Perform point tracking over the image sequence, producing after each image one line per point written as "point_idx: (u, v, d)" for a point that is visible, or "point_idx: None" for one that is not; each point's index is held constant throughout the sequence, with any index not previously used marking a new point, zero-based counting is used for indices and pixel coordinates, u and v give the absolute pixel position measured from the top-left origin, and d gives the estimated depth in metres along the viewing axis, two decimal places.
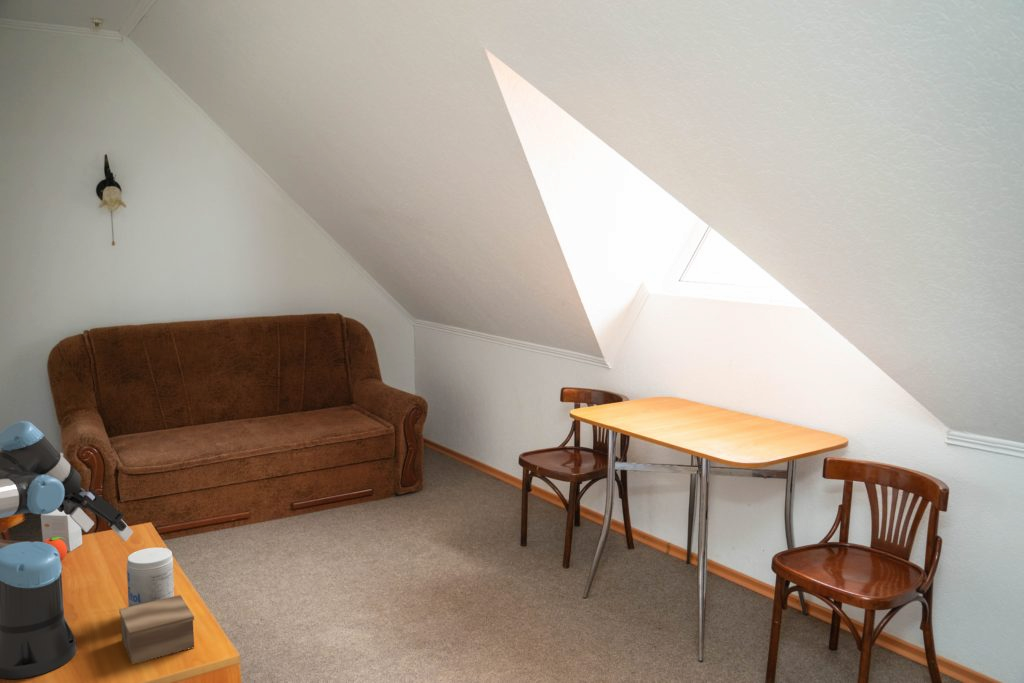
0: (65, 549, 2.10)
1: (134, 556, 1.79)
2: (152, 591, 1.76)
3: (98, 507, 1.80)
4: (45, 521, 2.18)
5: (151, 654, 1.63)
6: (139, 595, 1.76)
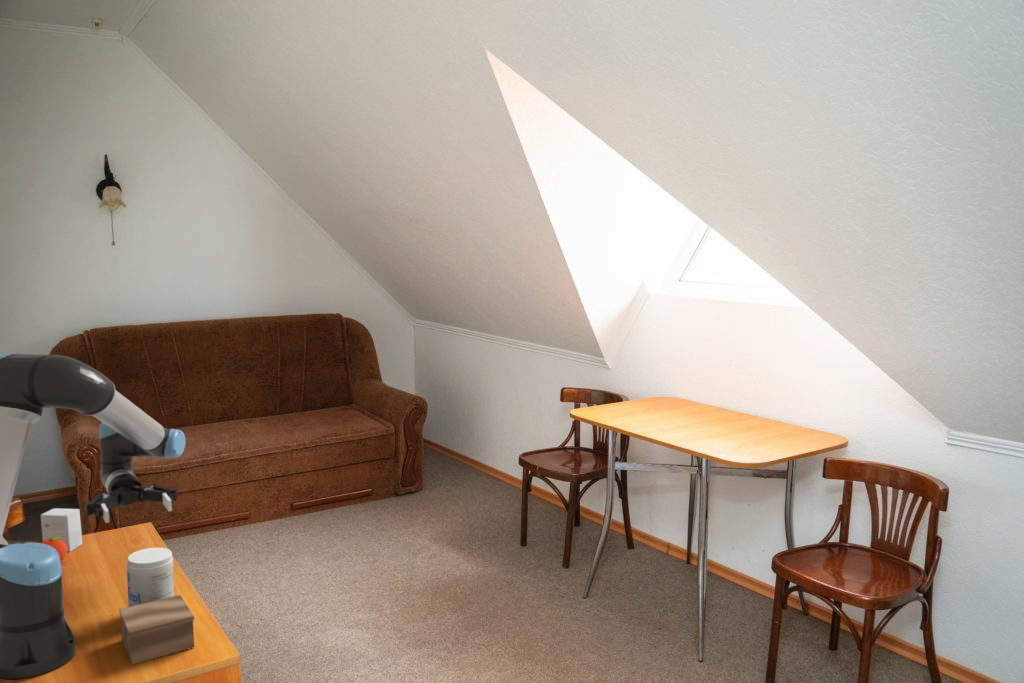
0: (65, 549, 2.10)
1: (134, 556, 1.79)
2: (152, 591, 1.76)
3: None
4: (45, 521, 2.18)
5: (151, 654, 1.63)
6: (139, 595, 1.76)
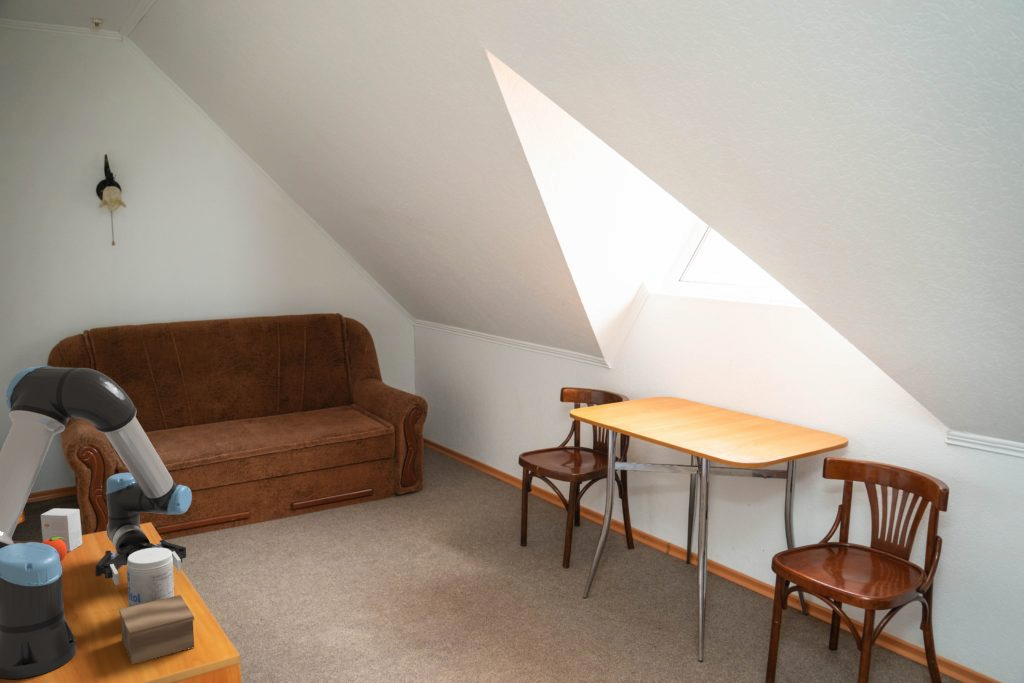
0: (65, 549, 2.10)
1: (134, 556, 1.79)
2: (152, 591, 1.76)
3: None
4: (45, 521, 2.18)
5: (151, 654, 1.63)
6: (139, 595, 1.76)
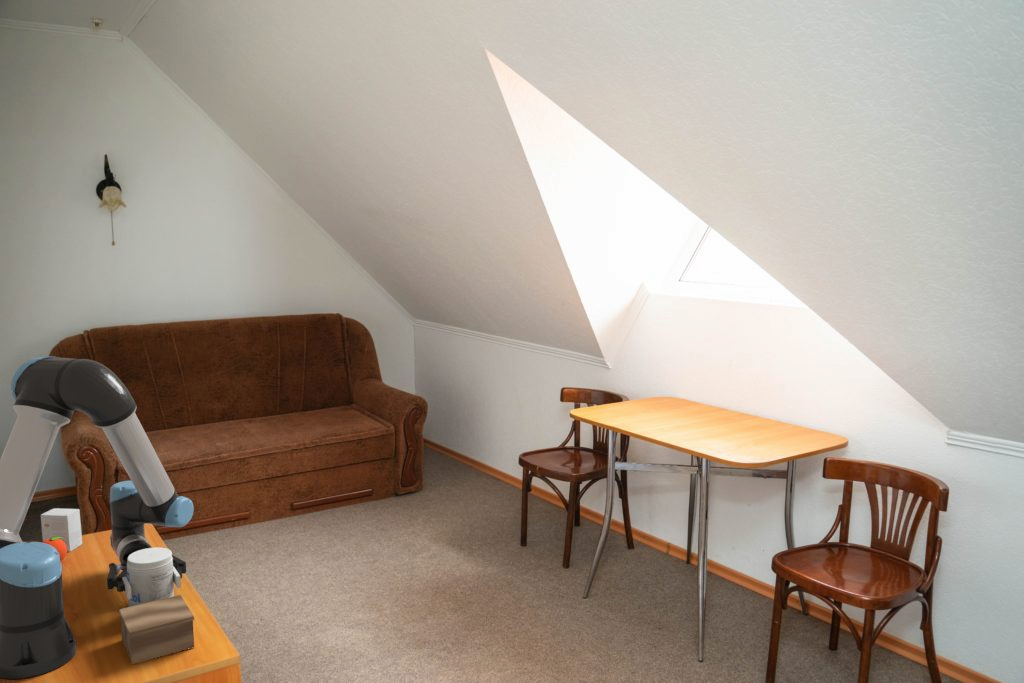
0: (65, 549, 2.10)
1: (134, 556, 1.79)
2: (152, 591, 1.76)
3: None
4: (45, 521, 2.18)
5: (151, 654, 1.63)
6: (139, 595, 1.76)
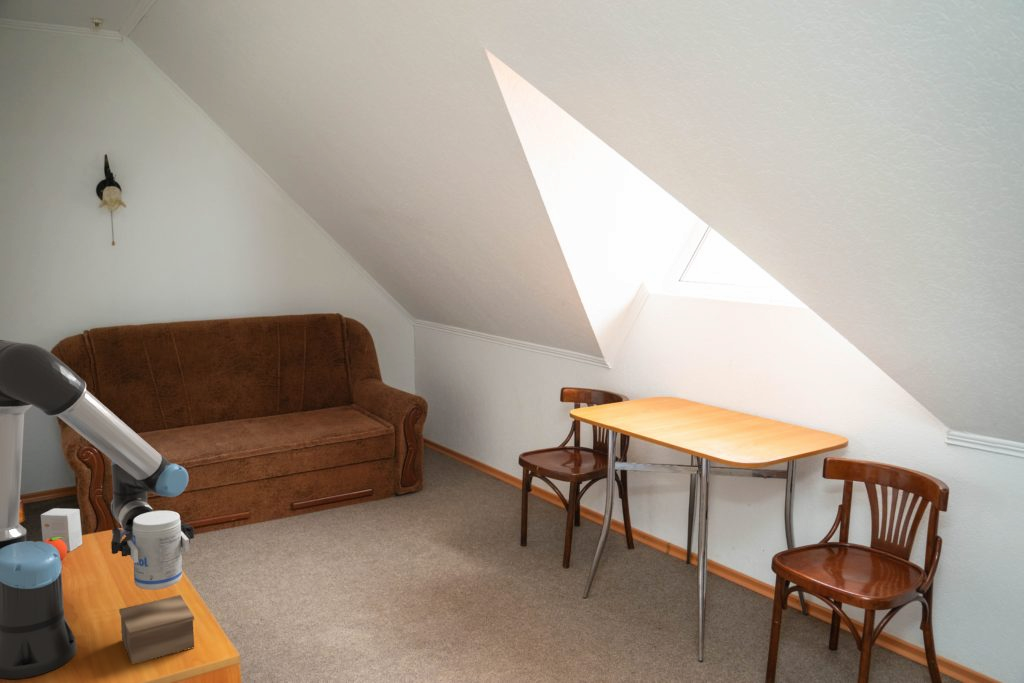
0: (65, 549, 2.10)
1: (140, 518, 1.70)
2: (160, 554, 1.68)
3: None
4: (45, 521, 2.18)
5: (151, 654, 1.63)
6: (146, 558, 1.67)
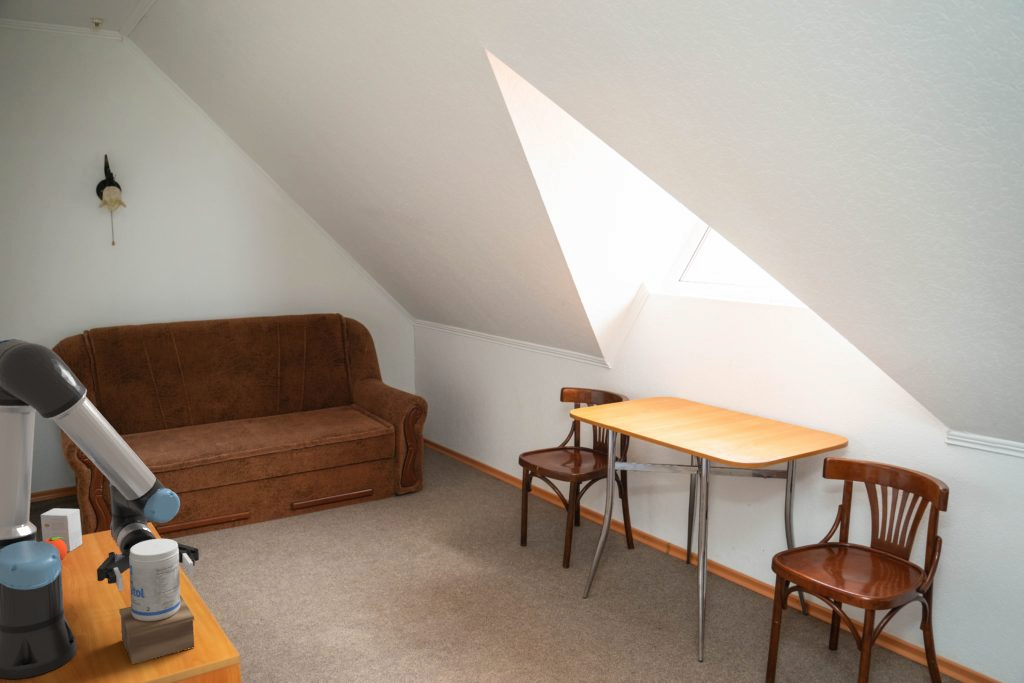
0: (65, 549, 2.10)
1: (137, 547, 1.66)
2: (156, 585, 1.63)
3: None
4: (45, 521, 2.18)
5: (151, 654, 1.63)
6: (142, 589, 1.63)
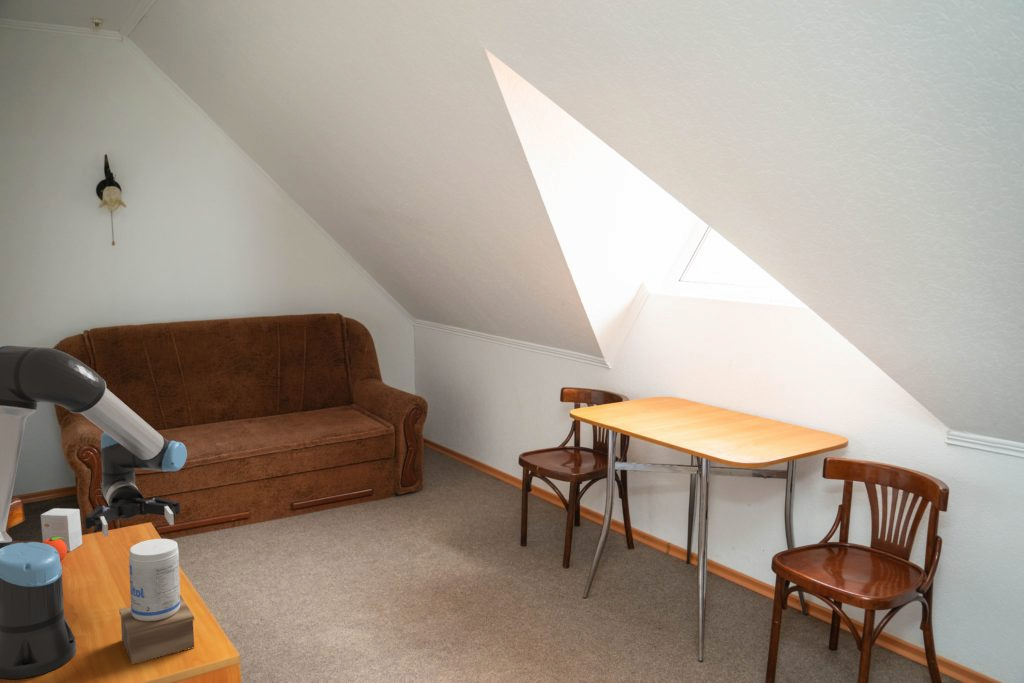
0: (65, 549, 2.10)
1: (137, 547, 1.66)
2: (156, 585, 1.63)
3: None
4: (45, 521, 2.18)
5: (151, 654, 1.63)
6: (142, 589, 1.63)
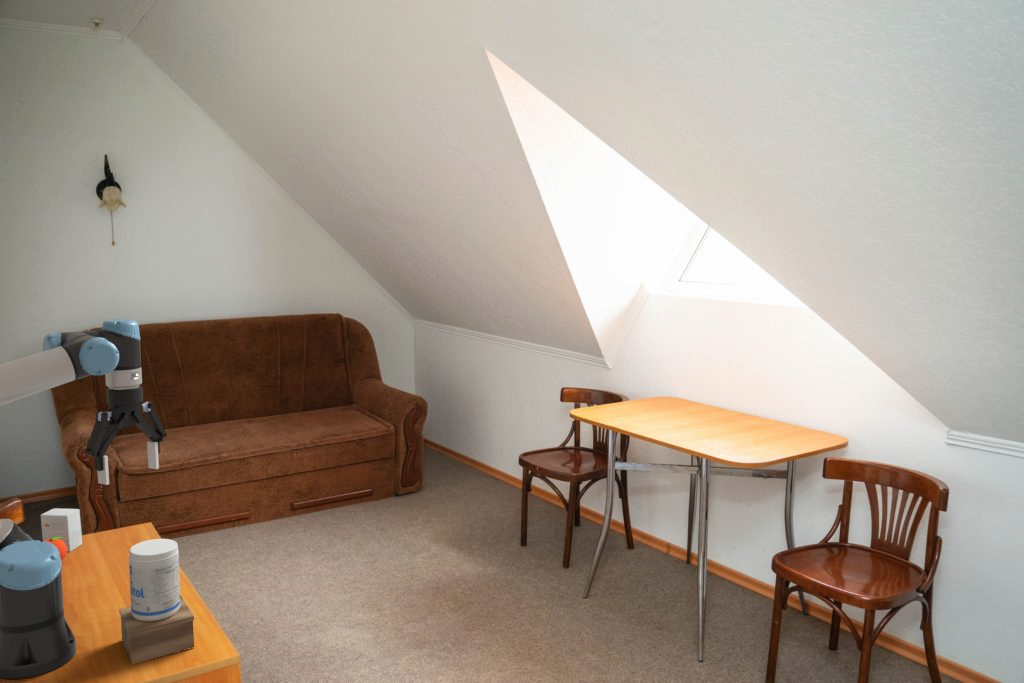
0: (65, 549, 2.10)
1: (137, 547, 1.66)
2: (156, 585, 1.63)
3: (94, 429, 1.77)
4: (45, 521, 2.18)
5: (151, 654, 1.63)
6: (142, 589, 1.63)
